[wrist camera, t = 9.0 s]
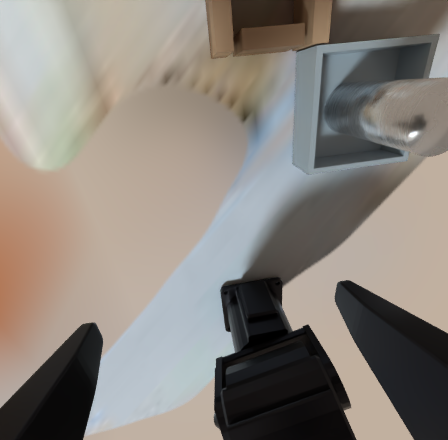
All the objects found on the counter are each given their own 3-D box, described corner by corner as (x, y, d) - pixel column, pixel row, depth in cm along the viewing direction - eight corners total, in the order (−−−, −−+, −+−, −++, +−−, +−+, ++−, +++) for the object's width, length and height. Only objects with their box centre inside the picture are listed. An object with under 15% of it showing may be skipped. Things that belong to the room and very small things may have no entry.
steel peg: (364, 129, 20) (463, 152, 13) (322, 135, 20) (400, 160, 13) (372, 79, 18) (491, 73, 11) (326, 84, 18) (419, 81, 11)
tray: (379, 152, 21) (407, 160, 19) (292, 163, 21) (308, 174, 18) (401, 42, 18) (439, 33, 15) (296, 52, 17) (317, 45, 14)
